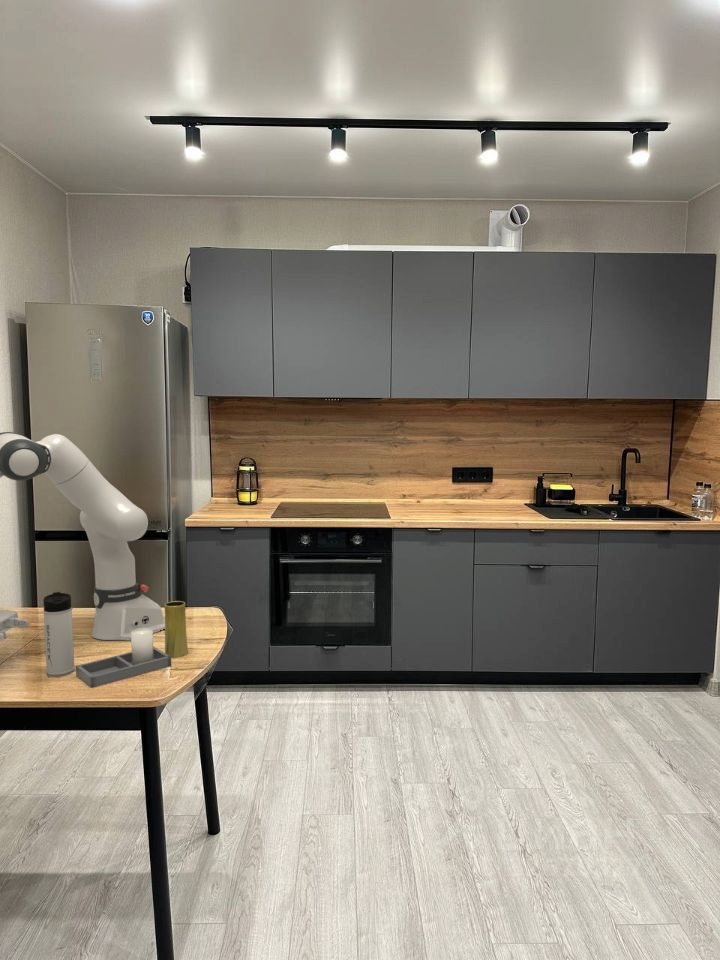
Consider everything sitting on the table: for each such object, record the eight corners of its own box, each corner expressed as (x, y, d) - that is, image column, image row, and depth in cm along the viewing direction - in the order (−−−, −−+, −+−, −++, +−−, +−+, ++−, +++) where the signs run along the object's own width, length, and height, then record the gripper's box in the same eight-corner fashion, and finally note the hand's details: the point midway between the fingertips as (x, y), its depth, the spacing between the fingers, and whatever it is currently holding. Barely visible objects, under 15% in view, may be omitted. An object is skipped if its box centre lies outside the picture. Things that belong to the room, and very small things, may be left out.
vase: (163, 653, 179) (162, 601, 177) (187, 650, 181) (185, 599, 180) (165, 661, 173) (163, 608, 172) (189, 658, 175) (188, 605, 174)
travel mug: (73, 667, 169) (70, 590, 167) (75, 676, 163) (71, 596, 161) (46, 671, 166) (42, 593, 164) (47, 681, 161) (43, 600, 158)
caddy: (153, 657, 176) (153, 646, 176) (171, 668, 169) (170, 656, 168) (76, 677, 163) (75, 665, 162) (91, 690, 155) (91, 677, 155)
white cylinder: (148, 660, 172) (147, 626, 171) (157, 665, 169) (156, 631, 168) (128, 665, 169) (127, 630, 168) (137, 671, 165) (136, 635, 164)
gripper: (-69, 631, 154) (-11, 631, 154) (-15, 605, 175) (36, 605, 174) (-67, 657, 155) (-10, 658, 154) (-14, 628, 175) (37, 629, 175)
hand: (15, 630), depth 164 cm, fingers open, 8 cm apart
